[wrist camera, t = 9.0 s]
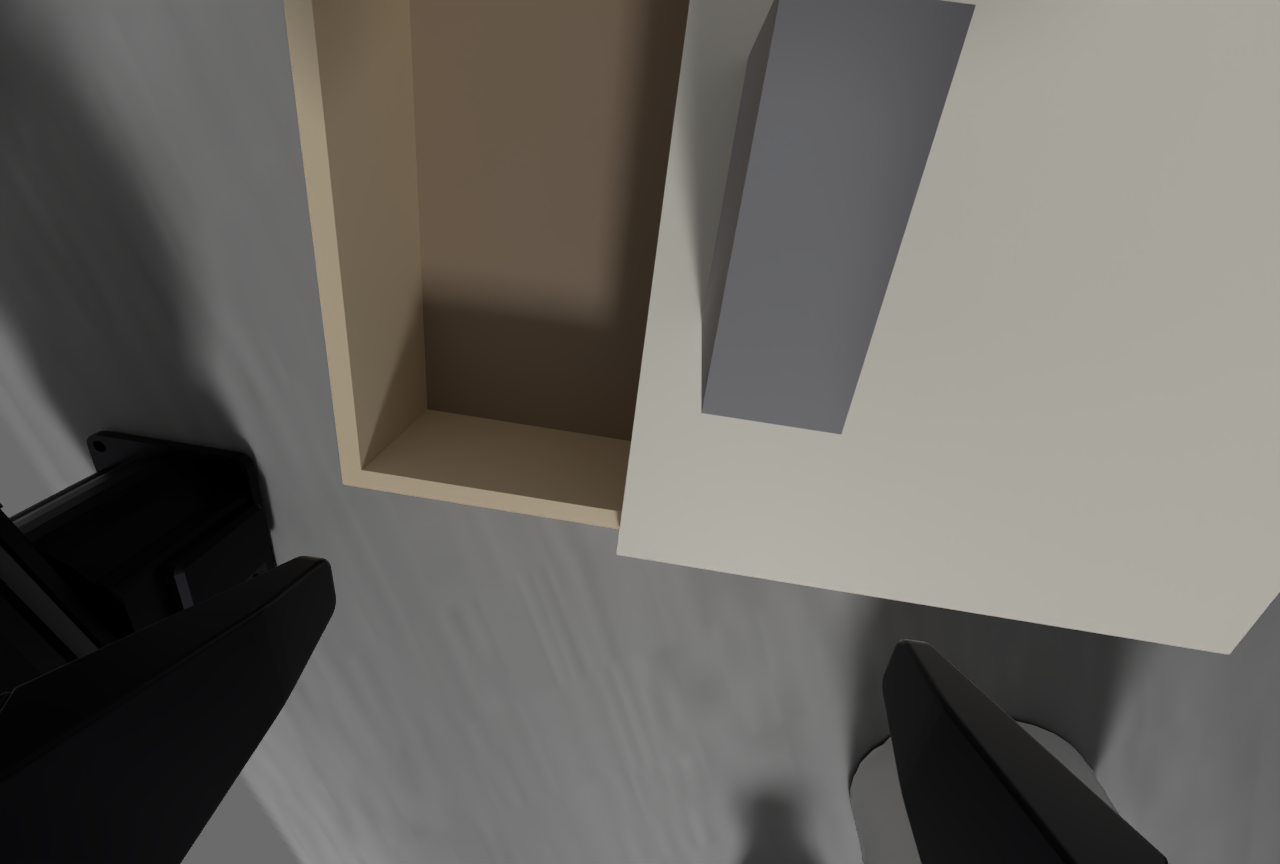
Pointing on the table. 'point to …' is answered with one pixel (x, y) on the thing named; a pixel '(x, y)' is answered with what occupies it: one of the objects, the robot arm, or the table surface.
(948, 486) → the carton lid
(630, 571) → the table surface
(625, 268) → the carton
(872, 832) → the toilet tissue
